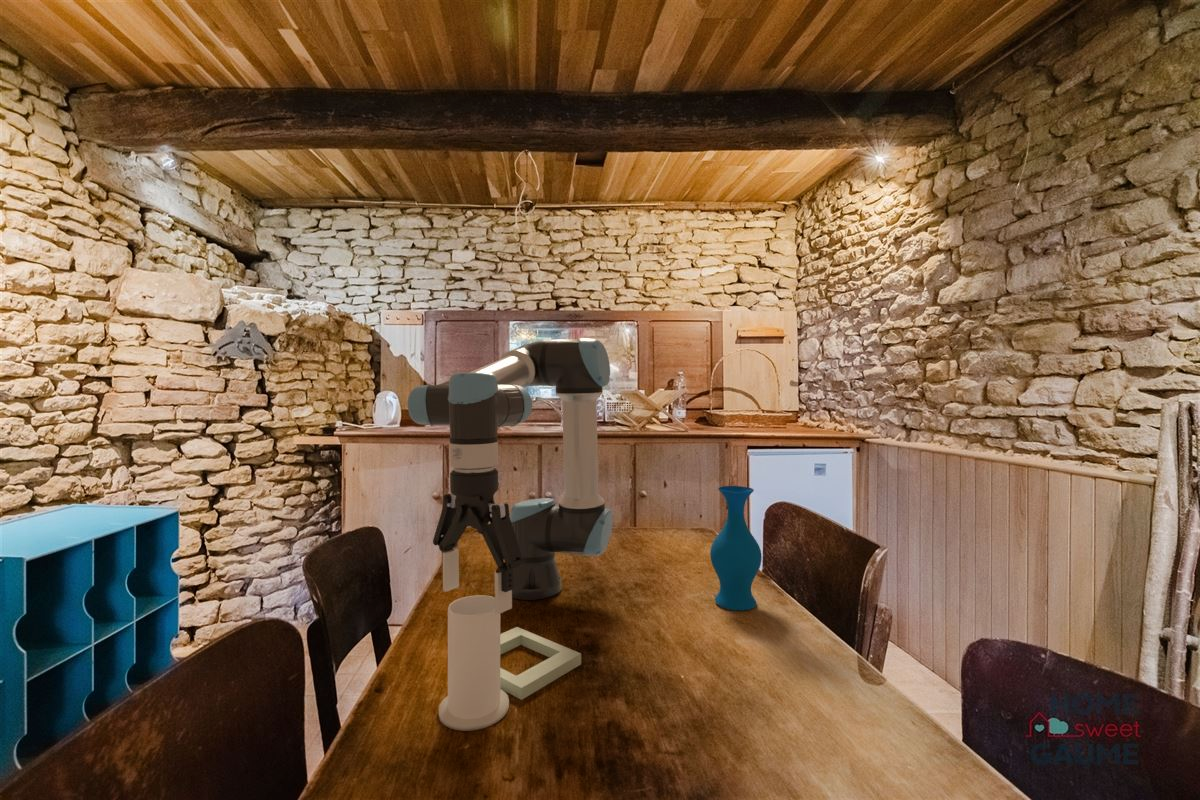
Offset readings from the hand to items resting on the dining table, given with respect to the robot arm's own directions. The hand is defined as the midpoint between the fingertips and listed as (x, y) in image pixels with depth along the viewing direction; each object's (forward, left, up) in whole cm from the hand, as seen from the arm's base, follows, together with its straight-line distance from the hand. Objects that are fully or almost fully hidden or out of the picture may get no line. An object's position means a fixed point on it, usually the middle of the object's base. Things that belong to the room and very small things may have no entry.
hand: (476, 599), depth 84 cm
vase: (+14, +67, -18) cm, 70 cm away
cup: (0, 0, -17) cm, 17 cm away
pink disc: (0, 0, -18) cm, 18 cm away
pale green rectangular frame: (-5, +14, -18) cm, 23 cm away
